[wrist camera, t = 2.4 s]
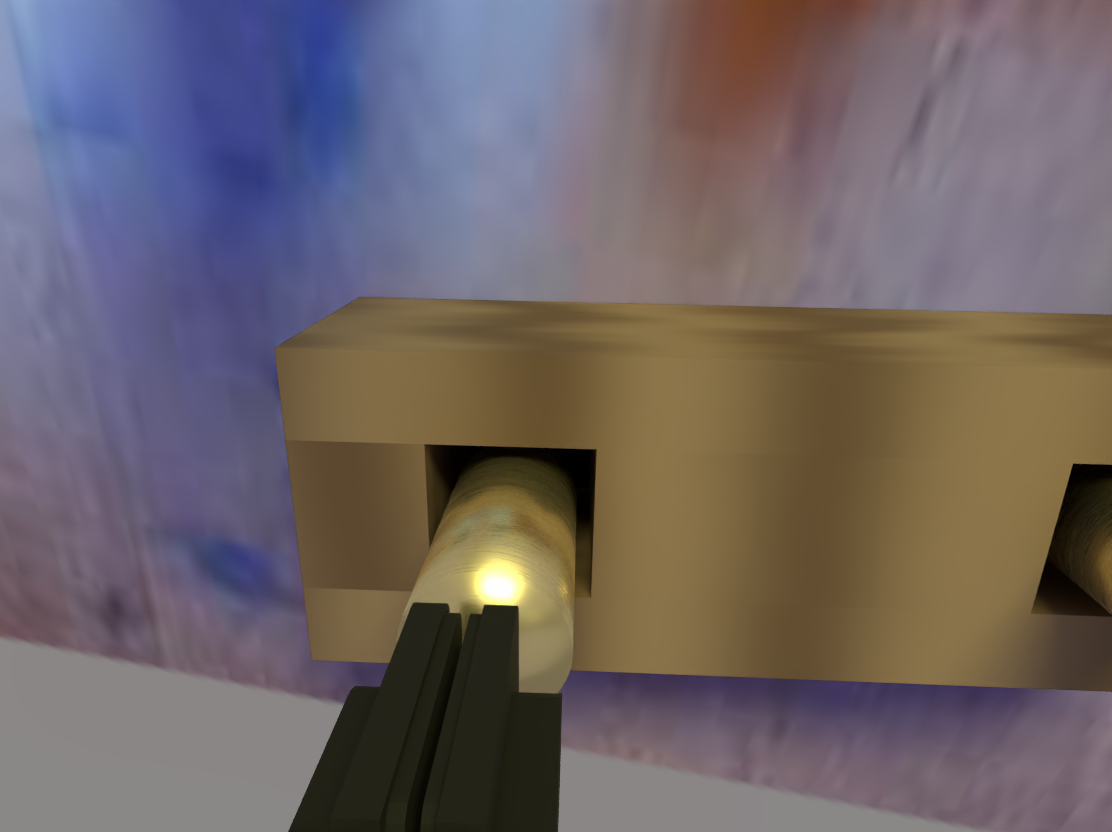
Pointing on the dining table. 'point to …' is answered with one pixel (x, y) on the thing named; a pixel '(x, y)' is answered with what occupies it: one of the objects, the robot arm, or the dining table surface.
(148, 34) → the dining table surface
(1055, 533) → the inner brass pin
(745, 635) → the tan peg holder block
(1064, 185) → the dining table surface
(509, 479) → the outer brass pin
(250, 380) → the dining table surface
